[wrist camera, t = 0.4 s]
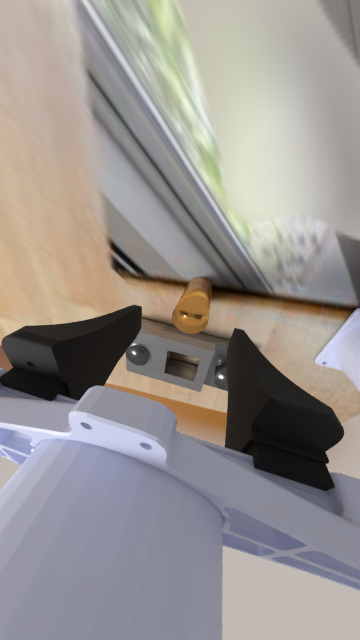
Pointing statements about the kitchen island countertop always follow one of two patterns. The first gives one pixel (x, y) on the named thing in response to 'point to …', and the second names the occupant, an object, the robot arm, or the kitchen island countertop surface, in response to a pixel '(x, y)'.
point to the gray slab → (160, 339)
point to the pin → (193, 306)
